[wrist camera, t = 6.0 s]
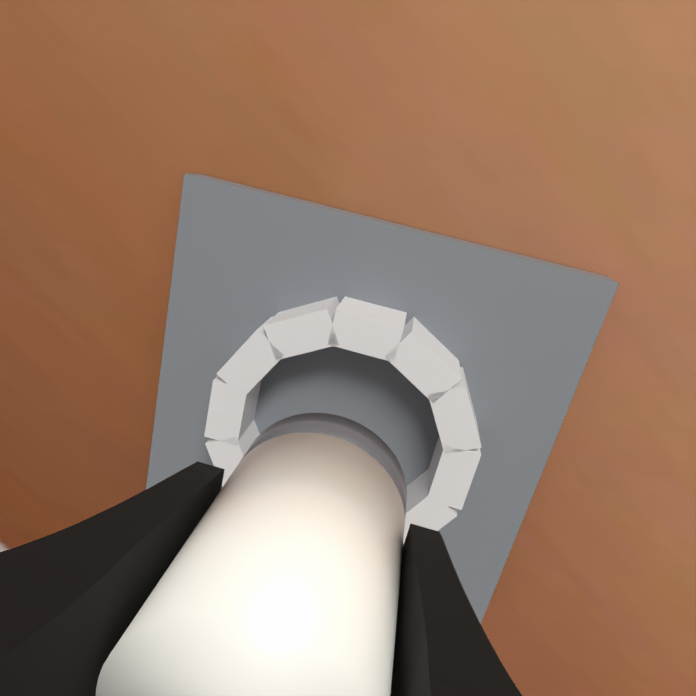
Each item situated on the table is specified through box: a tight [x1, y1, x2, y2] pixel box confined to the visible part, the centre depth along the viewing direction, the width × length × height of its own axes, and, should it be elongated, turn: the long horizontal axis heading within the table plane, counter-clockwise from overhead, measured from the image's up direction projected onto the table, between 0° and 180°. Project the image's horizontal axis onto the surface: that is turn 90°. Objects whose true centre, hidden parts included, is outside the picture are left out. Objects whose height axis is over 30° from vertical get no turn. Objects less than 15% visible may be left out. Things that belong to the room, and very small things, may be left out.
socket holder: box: [146, 174, 619, 624], centre depth 16 cm, size 12×12×2 cm
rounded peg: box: [96, 413, 407, 696], centre depth 10 cm, size 4×4×6 cm
